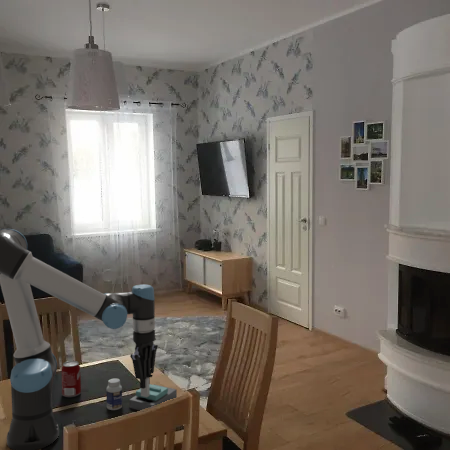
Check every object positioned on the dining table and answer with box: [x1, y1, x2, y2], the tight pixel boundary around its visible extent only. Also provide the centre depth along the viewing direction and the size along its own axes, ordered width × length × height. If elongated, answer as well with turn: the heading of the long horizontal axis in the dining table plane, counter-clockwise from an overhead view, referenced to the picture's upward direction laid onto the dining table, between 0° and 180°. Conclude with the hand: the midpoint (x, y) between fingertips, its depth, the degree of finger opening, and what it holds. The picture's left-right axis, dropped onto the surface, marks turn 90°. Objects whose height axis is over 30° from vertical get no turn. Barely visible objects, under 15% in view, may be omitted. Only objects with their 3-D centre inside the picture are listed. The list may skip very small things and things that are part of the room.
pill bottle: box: [105, 378, 123, 411], centre depth 180 cm, size 5×5×10 cm
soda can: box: [61, 360, 82, 398], centre depth 190 cm, size 7×7×12 cm
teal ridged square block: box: [135, 383, 169, 401], centre depth 183 cm, size 8×8×3 cm
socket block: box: [128, 384, 178, 411], centre depth 184 cm, size 15×10×3 cm, turn 153°
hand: (145, 395), depth 179 cm, fingers closed
